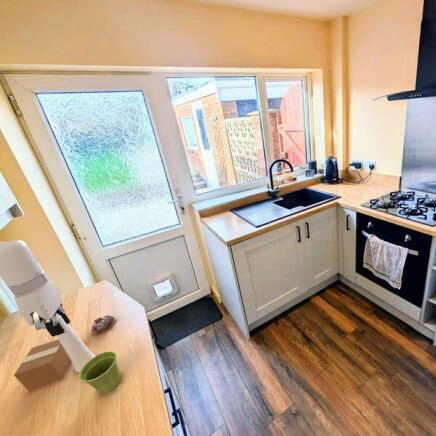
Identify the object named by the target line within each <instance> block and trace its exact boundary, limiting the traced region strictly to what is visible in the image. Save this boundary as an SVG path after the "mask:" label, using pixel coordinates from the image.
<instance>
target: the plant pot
mask: <svg viewBox="0 0 436 436" xmlns="http://www.w3.org/2000/svg"><path fill="white" fill-rule="evenodd" d="M117 358H118V356H117V353H116V352H115V351H112V350H107V351H106V350H105V351H103V352H101V353H99V354H97V355H96V354H95V357H93V358H92V359H91V360H89V361H88V362H87V363H86V364H85V365H84V366H83V368H82V369H81V371H80V372H78V377H77V378H78V381H80V382H81V383H84V384H88V385H89V386H91V388H93V389H94V390H95V391H96V392H98V393H99V394H102V395H104V394H107V393H109V392H111V391H113V390H115V389H116V388H117V387H118V385H119V384H120V382H121V381H122V375H121V371H120V368H119V365H118V362H117Z"/></svg>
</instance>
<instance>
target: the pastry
mask: <svg viewBox="0 0 436 436" xmlns="http://www.w3.org/2000/svg"><path fill="white" fill-rule="evenodd" d="M115 323H116V318H115V316H112V315H109V314H107V315H106V314H105V315H104V316H101V317H97V318H96V319H94V321H93V323H92V325H91V333H92V334H93V335H100V334H103V333H105V332H107V331H109V330H110V329H111V328H112V327H113V326H114V325H115Z"/></svg>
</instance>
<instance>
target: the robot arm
mask: <svg viewBox="0 0 436 436" xmlns="http://www.w3.org/2000/svg"><path fill="white" fill-rule="evenodd" d="M0 278H1V280H2V281H3V283H4V284H5V285H6V287H7V288H8V289H9V291H10V292H11V293H12V294H13V297H14V302H15V304H16V306H17V308H18V310H19V312H20V315H22V317H23V318H24V320H25V322H26V323H27V324H28V325H29V326H34V328H35V331H40V330H42V329H46V330H47V332H48V334H49V335H50V336H51V337H57V335H60V334H63V333H64V332H65V330H64V329H63V327H62V326H61V324H60V323H59V322H58V323H57V322H56V320H55V318H54V316H53V315H54V314H55V313H58V315H60V316H61V317H62V318H63V320H64V321H65V323H66V324H67V325H69V324H71V320H70V319H69V317H68V316H67V313H66V312H65V311H66V310H65V308H64V307H63V300H64V298H63V295H62V294H61V292H60V291H59V288H57V287H56V285H55V284H54V283H53V281H52V280H51V279H50V278H49V276H48V275H47V273H46V272H45V270H44V269H43V267H42V266H41V264H40V263H39V261H38V259H37V258H36V256H35V255H34V253H33V252H32V250H31V249H30V247H29V245H28V244H27V243H26V242H25V241H24V240H19V239H14V240H8V241H0ZM49 320H50V322H49Z"/></svg>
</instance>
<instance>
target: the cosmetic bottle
mask: <svg viewBox="0 0 436 436" xmlns="http://www.w3.org/2000/svg"><path fill="white" fill-rule="evenodd" d="M53 316H54V318H55V320H56V322H57V323H58V322H59V323H60V324H61V326H62V327H63V329H64V330H65V332H64V333H63V334H60V335H57V336H56V338H57V340H58V339H59V341H60V343H61V344H62V346H63V348H64V349H65V351H66V353H67V354H68V356H69V358H70V360H71V362H70V363H71V364H72V366H73V369H74V372H76V373H80V371H81V369H82V368H83V366H84V365H85V364H86V363H87V362H88V361H89V360H91V359H92V358H93V357H95V356H96V354H95V353H93V352H92V351H91V350H90V349H89V348H88V347H87V346H86V344H85V343H84V342H83V341H82V339H81V338H80V337H79V336H78V334H77V333H76V331H74V329H73V328H72V326H71V325H69V324H66V323H65V321H64V320H63V318H62V317H61V316H60V315H58V313H55V314H54V315H53ZM48 322H50V320H48Z"/></svg>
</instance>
